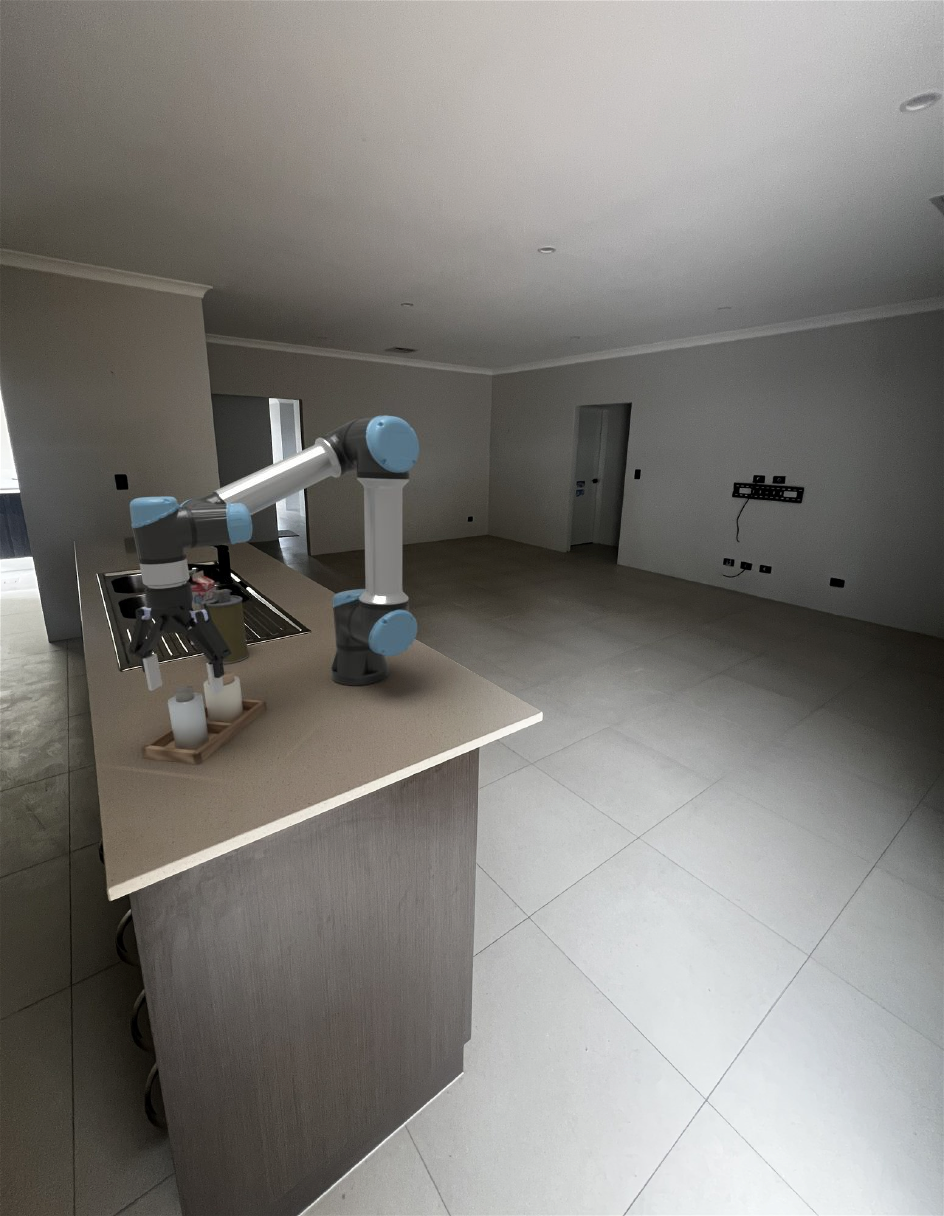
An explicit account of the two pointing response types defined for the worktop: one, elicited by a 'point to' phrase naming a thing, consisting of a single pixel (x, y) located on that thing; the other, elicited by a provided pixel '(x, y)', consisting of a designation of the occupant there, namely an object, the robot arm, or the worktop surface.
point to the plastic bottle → (188, 719)
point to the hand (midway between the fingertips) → (186, 690)
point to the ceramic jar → (224, 700)
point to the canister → (228, 622)
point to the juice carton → (201, 590)
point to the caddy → (217, 735)
